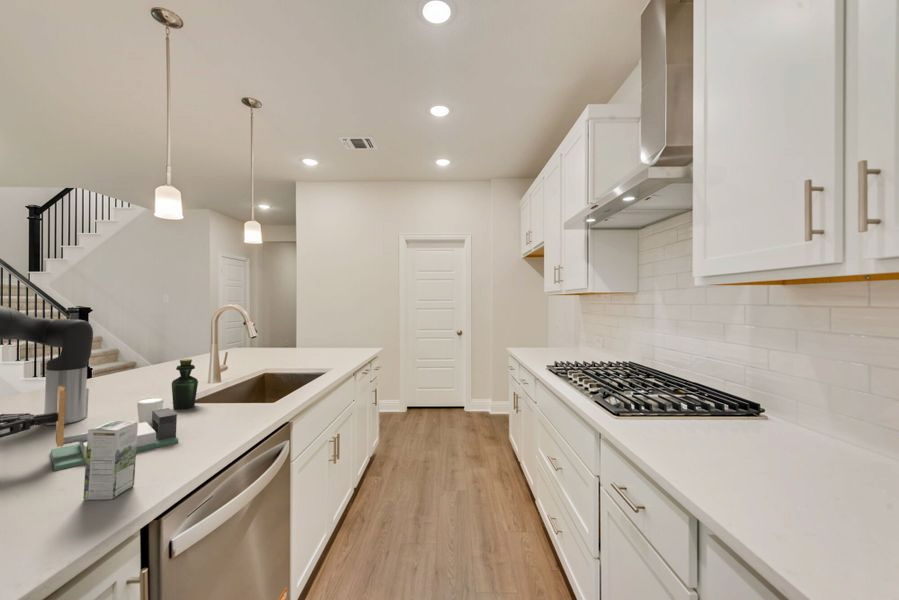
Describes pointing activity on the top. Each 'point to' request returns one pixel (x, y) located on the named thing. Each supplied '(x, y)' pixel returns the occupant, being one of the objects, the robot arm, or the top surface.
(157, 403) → the white cup
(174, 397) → the potion bottle
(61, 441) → the wooden l-shaped piece
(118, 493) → the syrup box
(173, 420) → the heatsink board
